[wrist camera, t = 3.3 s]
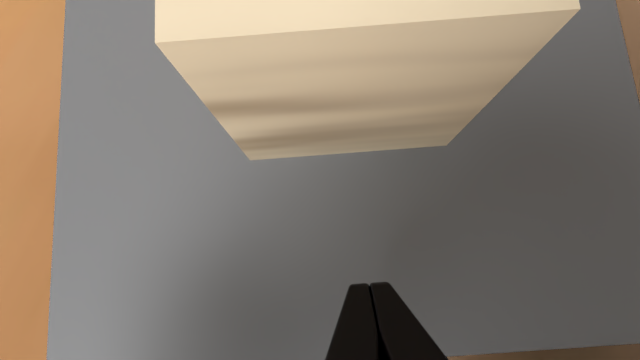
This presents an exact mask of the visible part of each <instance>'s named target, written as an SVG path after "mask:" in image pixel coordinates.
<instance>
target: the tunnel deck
mask: <svg viewBox="0 0 640 360" xmlns="http://www.w3.org/2000/svg"><path fill="white" fill-rule="evenodd" d="M579 3H580V8H581V9H580V10H579V11H578V12H577V13H576V14H575V15H574V16H573V17H572V18H571V19H570V20H569V21H568V22H567V23H566V24H565V25H564V26H563V27H562V28H561V29H560V30H559V31H558V32H557V33H556V34H555V35H554V36H553V37H552V39H551V40H550V41H549V42H548V43H547V44H546V45H545V46H544V47H543V48H542V49H541V50H540V51H539V52H538V53H537V54H536V55H535V56H534V57H533V58H532V59H531V60H530V61H529V62H528V63H527V64H526V65H525V66H524V67H523V68H522V69H521V70H520V71H519V72H518V73H517V74H516V75H515V76H514V77H513V78H512V79H511V80H510V81H509V82H508V83H507V84H506V85H505V86H504V87H503V88H502V89H501V90H500V92H499V93H498V94H497V95H496V96H495V97H494V98H493V99H492V100H491V101H490V102H489V103H488V104H487V105H486V106H485V107H484V108H483V109H482V110H481V111H480V112H479V113H478V114H477V115H476V116H475V117H474V118H473V119H472V120H471V121H470V122H469V123H468V124H467V125H466V126H465V127H464V128H463V129H462V130H461V131H460V132H459V133H458V134H457V135H456V136H455V137H454V138H453V139H452V140H451V141H450V142H449V143H448V145H447V146H434V147H421V148H408V149H395V150H381V151H368V152H355V153H342V154H328V155H315V156H302V157H289V158H276V159H262V160H249V158H248V157H247V156H246V155H245V154H244V152H243V151H242V150H241V149H240V147H239V146H238V145H237V144H236V142H235V141H234V140H233V139H232V137H231V136H230V135H229V134H228V133H227V131H226V130H225V129H224V128H223V126H222V125H221V124H220V123H219V121H218V120H217V119H216V118H215V117H214V115H213V114H212V113H211V112H210V110H209V109H208V108H207V107H206V105H205V104H204V103H203V102H202V100H201V99H200V98H199V97H198V96H197V94H196V93H195V92H194V91H193V89H192V88H191V87H190V86H189V84H188V83H187V82H186V81H185V80H184V78H183V77H182V76H181V75H180V73H179V72H178V71H177V70H176V68H175V67H174V66H173V65H172V63H171V62H170V61H169V60H168V59H167V57H166V56H165V55H164V54H163V52H162V51H161V50H160V49H159V47H158V46H157V45H156V44H155V0H66V5H65V24H64V43H63V61H62V80H61V99H60V118H59V136H58V155H57V174H56V193H55V212H54V230H53V249H52V268H51V287H50V305H49V324H48V343H47V360H325V358H326V355H327V352H328V349H329V346H330V343H331V340H332V336H333V333H334V330H335V327H336V324H337V321H338V318H339V315H340V312H341V309H342V306H343V303H344V300H345V297H346V293H347V290H348V287H349V286H350V285H351V284H359V283H367V284H368V285H370V284H371V283H373V282H388V283H390V284H391V285H392V287H393V288H394V289H395V291H396V292H397V293H398V295H399V296H400V297H401V298H402V300H403V301H404V302H405V304H406V305H407V306H408V308H409V309H410V310H411V312H412V313H413V314H414V315H415V317H416V318H417V319H418V321H419V322H420V323H421V325H422V326H423V327H424V329H425V330H426V331H427V332H428V334H429V335H430V336H431V338H432V339H433V340H434V342H435V343H436V344H437V345H438V347H439V348H440V349H441V351H442V352H443V353H444V355H445V356H446V357H449V356H464V355H478V354H493V353H508V352H523V351H537V350H552V349H567V348H581V347H596V346H611V345H625V344H640V104H639V100H638V96H637V91H636V87H635V83H634V78H633V74H632V70H631V65H630V61H629V57H628V52H627V48H626V44H625V39H624V35H623V31H622V26H621V22H620V18H619V13H618V9H617V5H616V0H579Z"/></svg>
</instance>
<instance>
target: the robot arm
mask: <svg viewBox="0 0 640 360" xmlns="http://www.w3.org/2000/svg"><path fill="white" fill-rule="evenodd" d="M325 360H448V359H447V357H446V356H445V355H444V353H443V352H442V351H441V349H440V348H439V347H438V345H437V344H436V343H435V342H434V340H433V339H432V338H431V336H430V335H429V334H428V332H427V331H426V330H425V329H424V327H423V326H422V325H421V323H420V322H419V321H418V319H417V318H416V317H415V315H414V314H413V313H412V312H411V310H410V309H409V308H408V306H407V305H406V304H405V302H404V301H403V300H402V298H401V297H400V296H399V295H398V293H397V292H396V291H395V289H394V288H393V287H392V285H391V284H390V283H388V282H373V283H371V284H370V285H368V284H367V283H359V284H351V285H350V286H349V287H348V290H347V293H346V297H345V300H344V303H343V306H342V309H341V312H340V315H339V318H338V321H337V324H336V327H335V330H334V333H333V336H332V340H331V343H330V346H329V349H328V352H327V355H326V358H325Z"/></svg>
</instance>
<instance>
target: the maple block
mask: <svg viewBox="0 0 640 360" xmlns="http://www.w3.org/2000/svg"><path fill="white" fill-rule="evenodd" d="M580 9H581V8H580V3H579V0H155V44H156V45H157V46H158V47H159V49H160V50H161V51H162V52H163V54H164V55H165V56H166V57H167V59H168V60H169V61H170V62H171V63H172V65H173V66H174V67H175V68H176V70H177V71H178V72H179V73H180V75H181V76H182V77H183V78H184V80H185V81H186V82H187V83H188V84H189V86H190V87H191V88H192V89H193V91H194V92H195V93H196V94H197V96H198V97H199V98H200V99H201V100H202V102H203V103H204V104H205V105H206V107H207V108H208V109H209V110H210V112H211V113H212V114H213V115H214V117H215V118H216V119H217V120H218V121H219V123H220V124H221V125H222V126H223V128H224V129H225V130H226V131H227V133H228V134H229V135H230V136H231V137H232V139H233V140H234V141H235V142H236V144H237V145H238V146H239V147H240V149H241V150H242V151H243V152H244V154H245V155H246V156H247V157H248V158H249V160H262V159H276V158H289V157H302V156H315V155H328V154H342V153H355V152H368V151H381V150H395V149H408V148H421V147H434V146H447V145H448V143H449V142H450V141H451V140H452V139H453V138H454V137H455V136H456V135H457V134H458V133H459V132H460V131H461V130H462V129H463V128H464V127H465V126H466V125H467V124H468V123H469V122H470V121H471V120H472V119H473V118H474V117H475V116H476V115H477V114H478V113H479V112H480V111H481V110H482V109H483V108H484V107H485V106H486V105H487V104H488V103H489V102H490V101H491V100H492V99H493V98H494V97H495V96H496V95H497V94H498V93H499V92H500V90H501V89H502V88H503V87H504V86H505V85H506V84H507V83H508V82H509V81H510V80H511V79H512V78H513V77H514V76H515V75H516V74H517V73H518V72H519V71H520V70H521V69H522V68H523V67H524V66H525V65H526V64H527V63H528V62H529V61H530V60H531V59H532V58H533V57H534V56H535V55H536V54H537V53H538V52H539V51H540V50H541V49H542V48H543V47H544V46H545V45H546V44H547V43H548V42H549V41H550V40H551V39H552V37H553V36H554V35H555V34H556V33H557V32H558V31H559V30H560V29H561V28H562V27H563V26H564V25H565V24H566V23H567V22H568V21H569V20H570V19H571V18H572V17H573V16H574V15H575V14H576V13H577V12H578V11H579V10H580Z"/></svg>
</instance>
